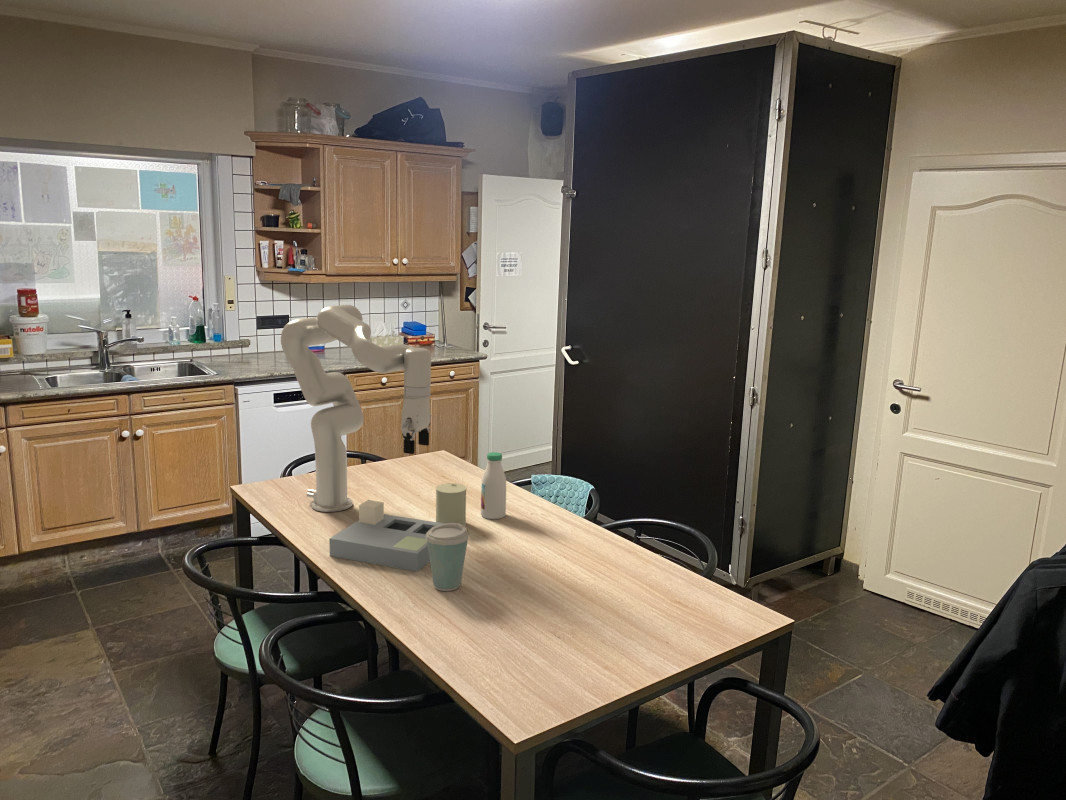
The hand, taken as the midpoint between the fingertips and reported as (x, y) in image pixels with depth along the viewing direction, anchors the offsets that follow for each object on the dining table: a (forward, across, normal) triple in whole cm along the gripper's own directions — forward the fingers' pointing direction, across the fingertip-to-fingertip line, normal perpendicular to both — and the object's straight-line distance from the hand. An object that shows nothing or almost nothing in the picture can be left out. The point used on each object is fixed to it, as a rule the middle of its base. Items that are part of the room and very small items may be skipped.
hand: (416, 449), depth 226 cm
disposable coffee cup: (+24, +33, +24) cm, 47 cm away
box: (+24, +17, +1) cm, 29 cm away
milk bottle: (+24, -18, +18) cm, 35 cm away
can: (+24, -6, +9) cm, 26 cm away
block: (+19, +12, -8) cm, 24 cm away
